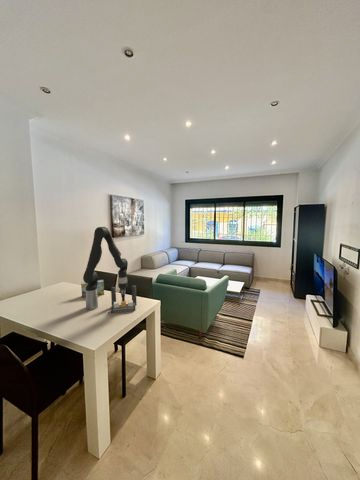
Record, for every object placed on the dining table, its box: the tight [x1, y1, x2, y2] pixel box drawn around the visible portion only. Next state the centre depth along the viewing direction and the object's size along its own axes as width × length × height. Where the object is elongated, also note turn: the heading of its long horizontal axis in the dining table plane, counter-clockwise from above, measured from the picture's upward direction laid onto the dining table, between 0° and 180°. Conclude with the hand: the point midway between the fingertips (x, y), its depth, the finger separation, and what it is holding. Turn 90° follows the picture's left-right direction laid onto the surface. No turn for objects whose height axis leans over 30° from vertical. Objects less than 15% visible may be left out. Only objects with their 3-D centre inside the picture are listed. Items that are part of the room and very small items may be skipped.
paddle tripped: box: [120, 300, 127, 307], centre depth 171 cm, size 4×4×4 cm
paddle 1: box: [114, 301, 120, 308], centre depth 170 cm, size 4×4×4 cm
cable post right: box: [131, 285, 137, 306], centre depth 182 cm, size 4×4×18 cm
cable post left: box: [110, 286, 117, 306], centre depth 178 cm, size 4×4×18 cm
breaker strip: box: [110, 302, 136, 314], centre depth 171 cm, size 20×7×5 cm, turn 103°
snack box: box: [80, 279, 105, 298], centre depth 204 cm, size 21×6×15 cm, turn 112°
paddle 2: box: [127, 299, 133, 306], centre depth 173 cm, size 4×4×4 cm
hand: (123, 300), depth 171 cm, fingers closed
